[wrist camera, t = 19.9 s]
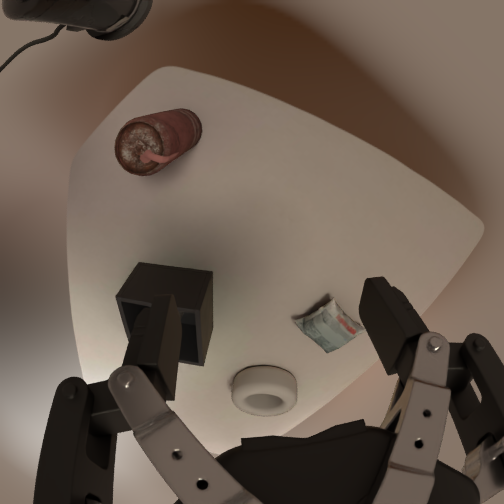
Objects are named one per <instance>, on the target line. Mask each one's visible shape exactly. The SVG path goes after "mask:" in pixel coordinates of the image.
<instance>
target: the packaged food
mask: <svg viewBox="0 0 504 504" xmlns="http://www.w3.org/2000/svg"><path fill="white" fill-rule="evenodd" d="M295 323H296V324H297V326H298V327H299V328H300V329H301V331H302V332H303V333H304V334H305V335H307V336H308V337H310V338H311V339H312V340H314V341H315V342H316V343H317V344H318V345H319V346H320V347H322V348H323V349H324V351H325V352H326V353H329V352H332V351H334V350H336V349H339V348H340V347H342V346H343V345H345V344H347V343H348V342H349V341H351V340H352V339H354V338H355V337H356V336H357V335H359V334H362V333H364V332H366V329H365V328H364V327H361V326H359V325H358V324H356V323H355V322H353V321H352V320H351V319H350V318H349V317H348V316H347V315H346V314H344V313H343V311H342V309H341V308H340V307H339V306H338V305H337V304H336V302H335V298H334V297H333V298H332V300H331V301H330V302H328V303H327V304H326V305H325V306H323V307H320V308H319V310H318V311H315V312H313V313H312V314H311V315H309V316H306V317H304V318H301V319H300V320H299V319H298V320H297V319H296V321H295Z"/></svg>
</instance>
